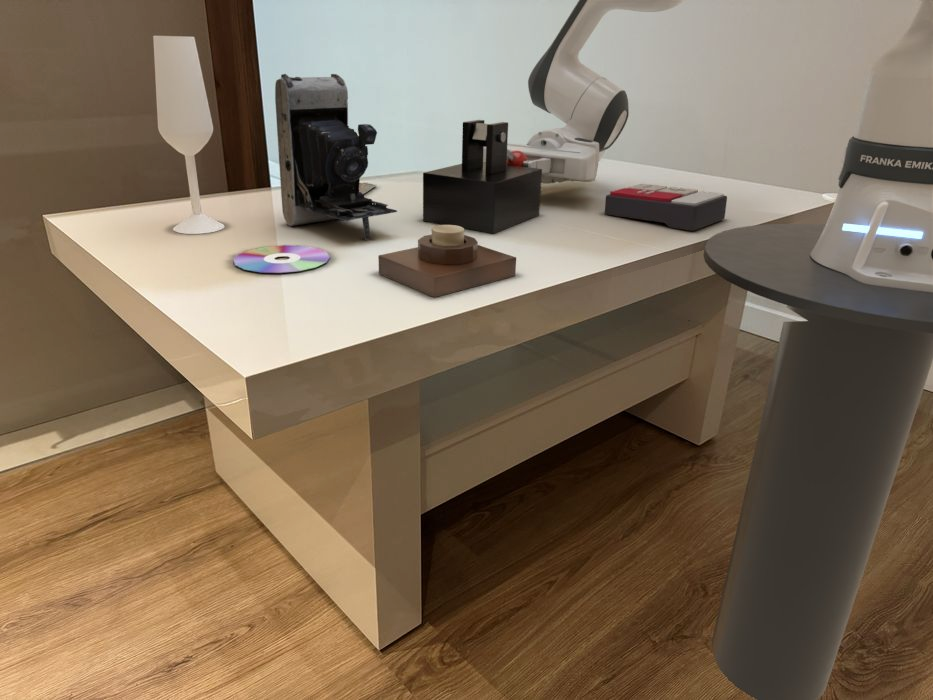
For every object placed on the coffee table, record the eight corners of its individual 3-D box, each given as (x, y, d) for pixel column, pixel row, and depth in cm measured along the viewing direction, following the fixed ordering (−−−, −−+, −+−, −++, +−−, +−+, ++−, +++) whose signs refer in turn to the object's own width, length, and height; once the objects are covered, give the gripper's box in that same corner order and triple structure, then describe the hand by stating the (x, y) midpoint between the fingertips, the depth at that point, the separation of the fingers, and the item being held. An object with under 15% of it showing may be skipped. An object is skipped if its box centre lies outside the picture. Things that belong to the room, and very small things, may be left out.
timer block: (458, 255, 87) (458, 224, 86) (515, 275, 81) (517, 241, 79) (378, 274, 80) (377, 239, 78) (434, 297, 73) (434, 260, 72)
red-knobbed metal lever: (507, 176, 113) (513, 154, 113) (527, 178, 111) (533, 156, 111) (466, 142, 100) (473, 118, 100) (488, 145, 99) (495, 120, 99)
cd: (331, 245, 90) (331, 244, 90) (328, 272, 80) (328, 271, 80) (240, 246, 88) (240, 245, 88) (225, 274, 78) (225, 273, 78)
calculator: (640, 181, 116) (729, 190, 107) (638, 207, 118) (725, 219, 108) (604, 190, 109) (696, 201, 99) (603, 218, 110) (693, 231, 101)
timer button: (449, 238, 81) (449, 223, 80) (470, 244, 79) (470, 229, 78) (425, 243, 79) (425, 227, 78) (445, 250, 76) (446, 234, 76)
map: (379, 188, 127) (379, 182, 126) (338, 206, 108) (338, 200, 107) (353, 186, 127) (352, 181, 127) (307, 204, 109) (307, 198, 108)
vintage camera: (340, 251, 89) (338, 84, 81) (279, 223, 99) (271, 72, 91) (400, 240, 96) (404, 84, 87) (337, 214, 106) (335, 72, 97)
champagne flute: (207, 235, 93) (182, 37, 83) (162, 231, 94) (132, 35, 84) (234, 223, 99) (213, 37, 89) (191, 220, 100) (166, 35, 90)
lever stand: (473, 204, 114) (475, 115, 108) (539, 215, 108) (545, 121, 103) (422, 221, 103) (422, 122, 98) (493, 233, 97) (497, 130, 92)
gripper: (499, 131, 124) (457, 138, 113) (608, 143, 115) (574, 151, 104) (497, 168, 127) (456, 178, 116) (604, 182, 117) (570, 194, 106)
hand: (513, 165), depth 110 cm, fingers closed on red-knobbed metal lever, 3 cm apart
